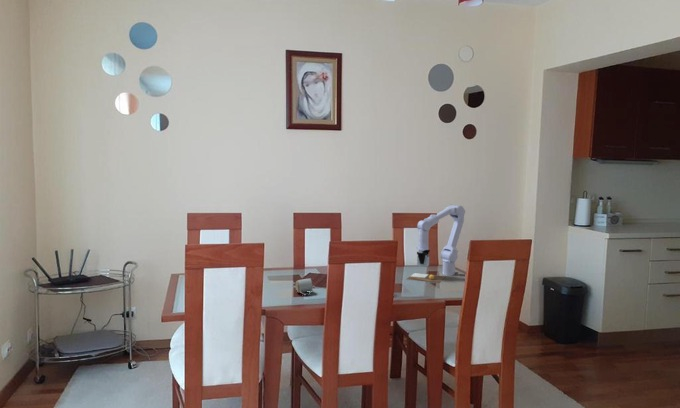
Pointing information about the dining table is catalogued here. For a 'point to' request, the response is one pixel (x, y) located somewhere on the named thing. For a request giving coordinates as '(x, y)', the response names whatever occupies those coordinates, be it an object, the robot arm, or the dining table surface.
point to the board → (428, 279)
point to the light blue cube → (426, 261)
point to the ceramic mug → (304, 285)
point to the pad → (419, 275)
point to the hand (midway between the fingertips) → (423, 262)
